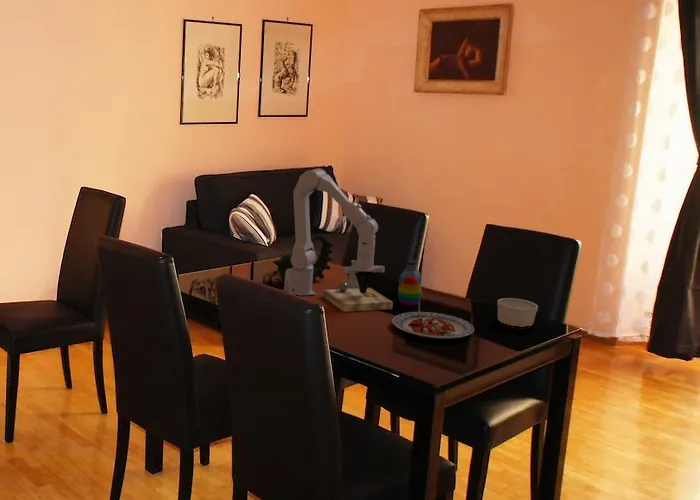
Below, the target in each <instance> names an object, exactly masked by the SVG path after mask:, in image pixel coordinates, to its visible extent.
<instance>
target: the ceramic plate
mask: <svg viewBox="0 0 700 500" xmlns="http://www.w3.org/2000/svg"><path fill="white" fill-rule="evenodd" d="M391 322H392V324H393V325H394V326H395V327H396V328H397V329H399V330H401V331H403V332H406V333H408V334H412V335H415V336H419V337H422V338H426V337H427V338H426V339H435V340H436V339H437V340H445V339H459V338H464V337H467V336H470V335H472V334H473V333H474V331H475V328H474V326H473V325H472V324H471V323H470V322H469V321H467V320H464V319H462V318H460V317H457V316H453V315H449V314H444V313H437V312H430V311H429V312H428V311H427V312H426V311H410V312H404V313H400V314H397V315H396V316H394V317H393V318H392V321H391Z"/></svg>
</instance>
